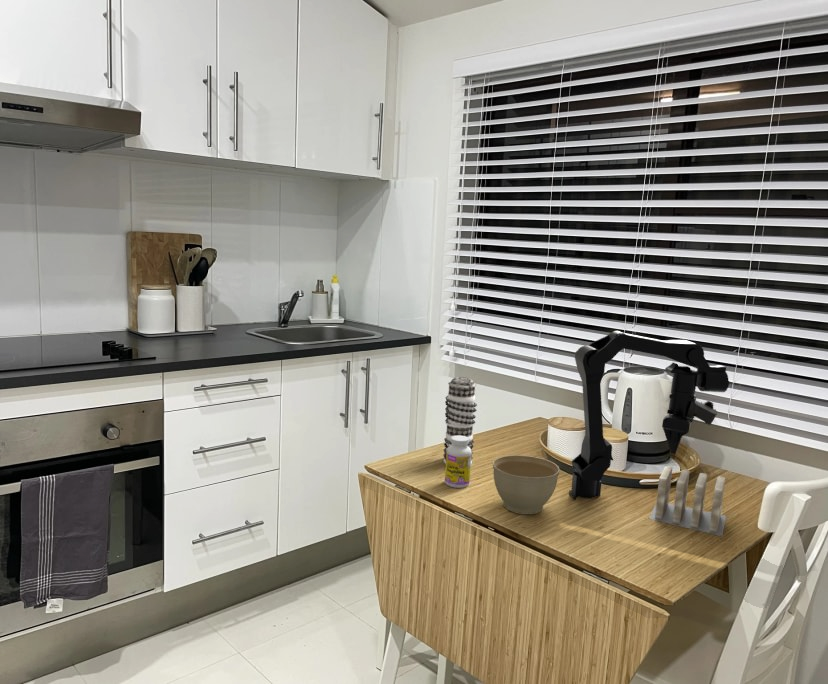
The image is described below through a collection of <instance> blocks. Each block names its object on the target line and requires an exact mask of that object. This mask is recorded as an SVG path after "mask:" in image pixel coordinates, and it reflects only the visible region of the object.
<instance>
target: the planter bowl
mask: <svg viewBox="0 0 828 684" xmlns="http://www.w3.org/2000/svg"><path fill="white" fill-rule="evenodd" d="M492 469H493V481H494V486H495V489H496V491H497V493H498V495H499V497H500V499H501V500H502V502H503V503H502V504H503V507H504V508H505V509H506V510H507V511H510V512H512V513H516V514H521V515H536V514H538V513H540V512H542V511H543V508H544V506H545V505H546V503H547V502H548V501H549V500H550V499H551V498H552V496H553V494H554V492H555V490H556V488H557V484H558V478H559V475H560V466H559V465H557V464H556V463H554V462H553V461H551V460H548V459H546V458H542V457H536V456H531V455H521V454H520V455H518V454H514V455H511V454H510V455H503V456H500V457H498V458H495V459H494V460H493V461H492Z"/></svg>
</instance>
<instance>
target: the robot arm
mask: <svg viewBox="0 0 828 684" xmlns="http://www.w3.org/2000/svg"><path fill="white" fill-rule="evenodd" d="M622 350H629V351H634V352H639V353H640V352H641V353H644V354H649V355H650V354H651V355H656V356H660V357H666V358H668V359H671V360H673V361H676V362H672V363H670V364H669V365H668V366H667V367H665V369H664V370H665V371H666V372H669V373H670V374H672V381H671V387H670V393H669V395H668V396H669V404H668V408H667V411H666V412H667V413H666V414H667V415H666V416H665V417H663V420H662V426H661V427H662V430H663V433H664V435H665V439H666V442H667V446H668V448H669V451H670V453H671V454H672V455H676V454H677V451H678V448H679V445H680V443H681V441H682V438H683V436H685V435H688V434H689V433H690V429H691V423H692V422H693V421H694V419H695V418H697V419H698V420H700V421H702V422H704V423H705V424H707V425H709V426H711V425H712V423H713V422H714V421H715V418H716V417H717V416H718V410H717V409H716V408H714V402H712V401H710V400H706V401H705V402H700V401H697V395H696V389H697V388H698V390H699V391H700V392H710V393H726V392H727V391H728V389H729V386H730V381H729V375H728V373H727V367H726V366H725V365H722V364H721V365H719V364H718V365H710V363H708V360H706V358H705V351H704V348H703V347H702V345H700V344H697V343H695V342H692V341H689V340H686V339H669V340H661V339H657V338H651V337H647V336H641V335H635V334H631V333H627V332H626V333H625V332H621V331H620V330H614V331H612V332H610V333H609V334H607V335H605V336H603V337H602V338H599V339H597V340H595V341H593V342H591V343H590V344H588V345H583V346H581V347H579V348H578V349H577V350H576V351H575V355H574V361H575V365H576V368H577V372H578V374H579V377H580V380H581V383H582V398H583V399H582V400H583V401H582V402H583V416H584V417H583V418H584V431H585V432H584V434H585V435H584V437H583V441H582V443H581V450H580V453H579V454H578V455H577V456H575V457H574V458H573V459H572V460H571V466H572V469H573V470H574V471H573V472H572V479H571V489H570V490H568V493H569V494H570V496H571V497H572V498H573V499H574V500H577V498H578V497H579V498H583V499H594V498H596V497H601V492H602V481H601V480H602V479H603V477H604V475H605V472H606V471H608V469H610V467H611V465H612V464H611V463H612V461H613V462H614V458H613V456H612V455H613V454H612V452H613V446H612V444H611V443H610V442H609V441H608V440H607V439H606V438H605V437H604V427H603V426H604V425H603V423H604V422H603V409H602V389H601V383H602V379H603V377H604V374H605V368H606V364H607V363H608V362H610V361H612V359H614V358H615V356H617V355H618V354H619V353H620V351H622ZM677 362H678V363H681V364H683V365H678V364H677ZM690 367H692V368H695V369H691V368H690ZM696 369H697V370H696Z"/></svg>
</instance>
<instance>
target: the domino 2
mask: <svg viewBox="0 0 828 684" xmlns="http://www.w3.org/2000/svg"><path fill="white" fill-rule="evenodd" d="M690 472H691V471H690V470H688V469H682V470H681V472H680V475H679V477H678V478H677V480H676V487H675V489H676V490H675V496H674V497H675V498H674V504H675V505H674V514H673V522H675V523H680V522H681V519H682V516H683V514H684V511H685V507H687V505H686V504H687V499H688V497H687V496H688V489H689V480H690Z"/></svg>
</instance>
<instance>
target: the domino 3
mask: <svg viewBox="0 0 828 684" xmlns="http://www.w3.org/2000/svg"><path fill="white" fill-rule="evenodd" d="M707 478H708V473H703V472H700V473H699V475H698V478H697V480H696V482H695V483H696V484H695V487H694V495H693V504H692V508H693V511H692V520H691V526H693V527H697V528H698V526H699V523H700V520H701V517H702V513H703V511H704V504H705V496H706V488H707V481H708V479H707Z"/></svg>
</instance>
